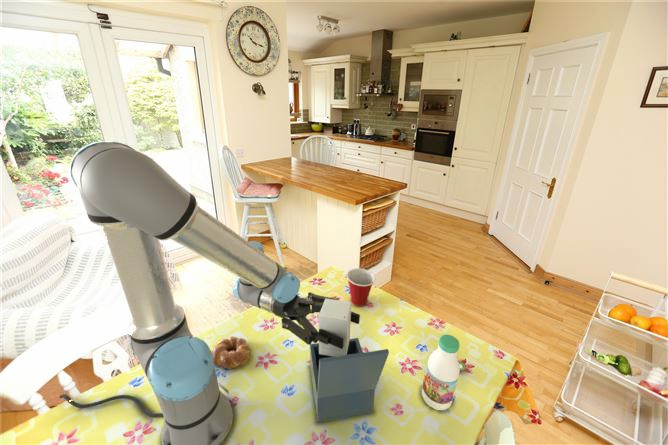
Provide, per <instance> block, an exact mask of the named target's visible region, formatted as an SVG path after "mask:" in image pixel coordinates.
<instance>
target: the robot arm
mask: <svg viewBox="0 0 668 445" xmlns="http://www.w3.org/2000/svg"><path fill="white" fill-rule="evenodd" d="M69 175H70V178H71V180H72V182H73V184H74V185H75V186H76V187H77V189H78V192H79V196H80V198H81V200H82V203H83V206H84V209H85V212H86V214H87V218H88V220H89V222H90V223H92V224H95V225H97V226H99V227H102V230H103V233H104V236H105V239H106V242H107V245H108V248H109V251H110V254H111V256H112V260H113V263H114V265H115V270H116V272H117V275H118V278H119V281H120V284H121V287H122V290H123V293H124V296H125V299H126V302H127V305H128V308H129V311H130V314H131V317H132V319H131V321H130V322H129V324H128V327H127V332H128V334H129V339H130V341H129V342H130V348H131V350H132V352H133V354H134V355H135V356H136V358H137V360H138V362H139V365H140V366H141V369H142V370H143V372H144V374H145V376H146V379H147V380H148V382H149V385H150V387H151V388H152V391H153V393H154V394H155V397H156V399H157V403H158V405H159V408H160V410H161V412H152V411H149V410H148V409H147V408H146V407H145V405H144V404H143V403H142V402H141V400H139V399H138V398H137V397H135V396H133V395H130V394H119V395H113V396H110V397H107V398H104V399H101V400H99V401H95V402H90V403H79V402H76V401H75V400H73V401H71V402H69V400H71V399H72V398H71V397H70V395H68V394H66V393H62V394H60V395H59V399H62V398H63V400H65V401H66V402H67V401H68V402H67V403H68V404H70V405H71V406H72V407H75V408H78V409H88V408H92V407H97V406H99V405H100V406H101V405H102V404H107V403H108V402H109V403H110V402H112V401H116V400H121V399H123V400H130V401H133V402H134V403H135V404H136V406H137V407H138V408H139V409H140V411H141V412H142V413H143V414H144V415H146V416H147V417H148V418H149V417H150V418H163V423H162V424H163V425H162V431H161V445H222V444H223V443H224V441H225V440H226V438H227V437H228V435H229V433H230V431H231V428H232V425H233V420H234V414H233V407H232V404H231V402H230V400H229V399H228V397H227V396H226V395H225V394H224V393H223V392H222V391H221V390H220V388H221V389H222V390H223V391H224V392H225V393H227V394H228V395H230V392H229V389H228V388H226V387H225V386H224V385H223V384H222V383H221V382H218V378H217V372H216V366H215V365H214V358H213V355H212V351H211V350H212V349H211V348H210V346H209V345H208V343H207V342H206V341H204V340H203V339H202V338H200V337H197V336H194V335H193V334H192V332H191V331H190V328H189V325H188V321H187V320H188V319H187V316H186V313H185V309H184V308H183V307H182V306H181V305H179V304H176V302H175V299H174V294H173V291H172V287H171V282H170V279H169V274H168V270H167V266H166V263H165V262H166V261H165V259H164V255H163V250H162V246H161V243H160V241H168V240H172V241H174V242H175V243H177V244H179V245H181V246H183V247H185V248H186V249H188V250H190V251H191V252H193V253H195V254H197V255H198V256H200V257H202V258H204V259H206V260H207V261H209V262H211V263H213V264H214V265H217V266H218V267H220V268H222V269H224V271H225V270H226V271H227V272H229V273H230V274H233V275H235V277H237V278H236V279H235V280H234V282H233V287H232V294H233V295H234V297H235V298H236V299H238V300H240V301H242V302H243V303H245V304H249V305H251V306H253V307H256V308H258V309H260V310H263V311H265V312H268V313H269V314H271V315H274V316H276V317H278V318H281V329H284V330H287V331H289V332H290V333H292V334H293V335H294V336H296V337H297V338H298V339H300V340H301V341H303V342H304V343H305V344H306V345H308V346H310V344H316V343H319V341H320V342H322V343H324V344H328V343H329V344H331V345H334V346H336V347H338V348H340V349H342V348H343V345H344V339H343V338H341V337H339V336H336V335H334V334H332V333H329V332H327V331H325V330H322V329H320V330H319V329H317V328H316V327H315V326H314V325H313V324H312V322H311V321H310V320H309V319H308V317H307V316H308V315H310V314H312V315H313V314H315V313H318V314H319V313H320V311H321V308H322V306H323V303H324V301H325V298H326V299H333V300H340V299H338V298H335V297H329V296H324V295H319V294H315V293H313V292H311V291H309V292H308V293H307V296H306V297H302V296H301V297H300V296H299V295H298V293H299V291H300V288H301V281H300V279H299V278H298V276H297V275H295V274H294V273H293V272H292V271H290V270H288V269H286V268H285V267H284V266H282V264H279V263H278V262H276V261H275V259H273V258H271V257H270V256H268V255H267V254H265V250H264V249H265V248H264V245H263V244H262V243H261V242H258V241H255V240H251V241H248V240H246V239H245V238H243V236H241V235H239V234H238V233H237V232H235V231H234V230H232V229H231V228H230V227H228V226H227V225H226V224H224V223H223V222H221V220H219V219H217V218H216V217H214V216H213V215H212V214H210V213H209V212H208V211H206V210H205V209H203V208H202V207H201V206H200V205H198V199H197V197H196V196H195V195H194V194H192V193H191V192H189V191H188V190H187V189H186V188H185V187H184V186H182V185H181V184H180V183H179V182H178V181H177V180H176V179H174V178H173V177H172V176H171V175H170V174H169V173H168V172H167V171H166V170H165V169H164V168H163V167H162V166H161V165H160V164H158V163H157V162H156V161H155V160H154V159H153V158H152V157H150V156H148V155H147V154H144V153H143V152H140V151H138V150H136V149H135V148H133V147H132V146H130V145H127V144H126V143H122V142H118V141H109V140H107V141H106V140H102V141H95V142H91V143H89V144H86V145H84V146H83V147H81V148H79V150H77V152H76V153H75V154H74V156H72V160H71V162H70V166H69ZM360 318H361V314H360V313H356V312H354V311H352V310H351V323H354V324H356V325H359V324H360ZM295 321H296V322H295Z"/></svg>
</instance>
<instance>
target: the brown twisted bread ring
mask: <svg viewBox="0 0 668 445" xmlns="http://www.w3.org/2000/svg"><path fill="white" fill-rule="evenodd" d="M250 349H251V348H250V345H249V344H247V340H246V339H245V338H243V337H237V336H229V337H227V338H223V339H221V340H219V341H218V342H217V343H216V344H215V346H214V347H213V349H212V351H211V352H212V355H213V358H214V366H215V367H222V368H225V369H226V370H227V369H228V370H232V369H235V368H237V367H238V366H243V365H245V364H246V363H247V362H248V361H249V359H250Z"/></svg>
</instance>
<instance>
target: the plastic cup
mask: <svg viewBox="0 0 668 445" xmlns="http://www.w3.org/2000/svg"><path fill="white" fill-rule="evenodd" d="M346 278H347V282H348V286H349V295H350V302H351V304H352V305H353V306H355V307H363V306H365V305H366V304H367V302H368V299H369V296H370V293H371V289H372V287H373V284H374V283H375V282H376V279H377V278H376V275H375V274H374V273H373V271H370V270H368V269H365V268H359V267H357V268H352V269H350V270H348V271H347V273H346Z"/></svg>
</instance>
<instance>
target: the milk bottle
mask: <svg viewBox="0 0 668 445" xmlns="http://www.w3.org/2000/svg"><path fill="white" fill-rule="evenodd" d="M460 345H461V344H460V341H459V340H458V339H457V338H456V337H455V336H453V335H451V334H442V335H441V336H439V338H438V343H437V348H436V349H435V350H434V351H433V352H432V353H431V354H430V356H429V358H428V360H427V363H426V367H425V371H424V378H423V382H422V386H421V396H422V399H423V400H424V402H425V403H426V404H427V405H428V406H429V407H430V408H432V409H434V410H436V411H437V410H438V411H445V410H447V409H449V408H450V407H451V406H452V404H453V401H454V400H453V399H454V397H455V392H456V389H457V384H458V381H459V377H460V372H461V371H460V366H459V362H460V361H459V359H458V355H457V354H458V353H459V349H460V347H461V346H460Z"/></svg>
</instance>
